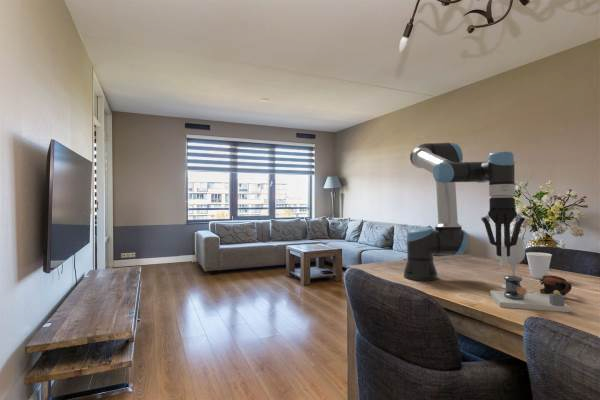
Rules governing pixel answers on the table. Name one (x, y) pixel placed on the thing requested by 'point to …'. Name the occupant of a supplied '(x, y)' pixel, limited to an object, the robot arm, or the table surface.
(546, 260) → the cup
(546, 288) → the brown animal figurine
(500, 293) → the level board
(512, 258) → the wineglass
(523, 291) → the capstan
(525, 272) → the table surface
